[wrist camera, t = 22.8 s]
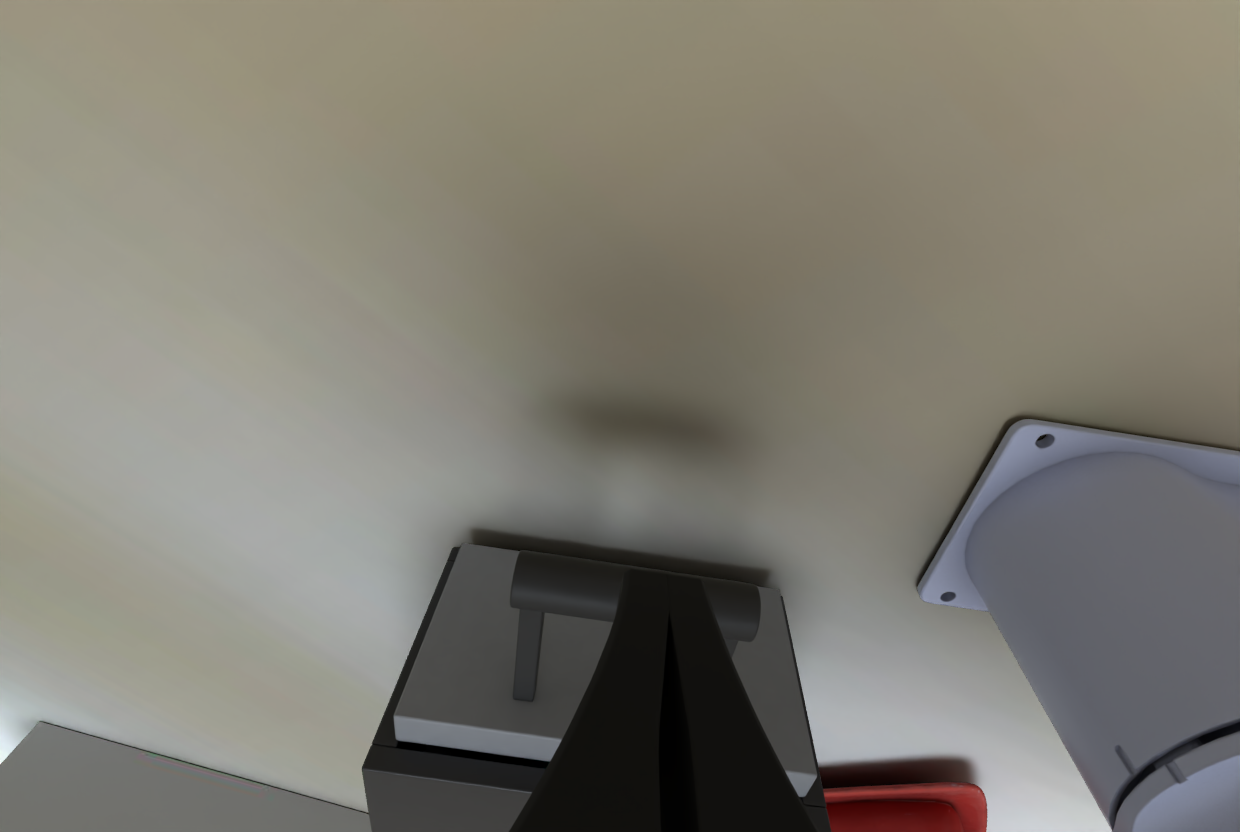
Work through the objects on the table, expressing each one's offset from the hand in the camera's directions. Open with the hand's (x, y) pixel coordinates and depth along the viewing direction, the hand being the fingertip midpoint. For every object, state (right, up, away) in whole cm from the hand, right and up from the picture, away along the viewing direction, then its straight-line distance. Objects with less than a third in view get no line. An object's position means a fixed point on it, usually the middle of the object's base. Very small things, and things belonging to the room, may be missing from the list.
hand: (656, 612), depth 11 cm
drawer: (-1, -5, +14) cm, 15 cm away
